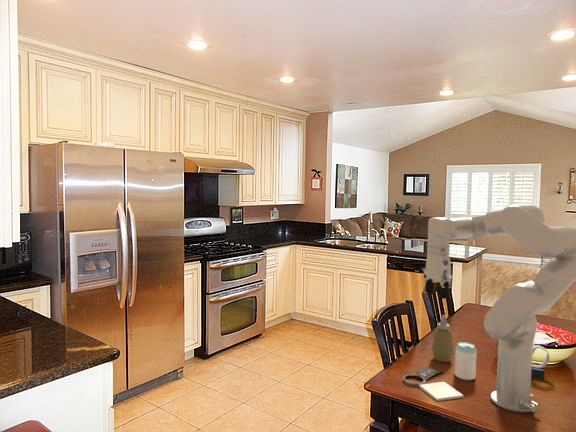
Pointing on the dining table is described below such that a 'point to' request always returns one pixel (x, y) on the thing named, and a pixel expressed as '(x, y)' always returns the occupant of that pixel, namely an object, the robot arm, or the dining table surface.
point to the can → (465, 361)
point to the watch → (536, 369)
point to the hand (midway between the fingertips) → (436, 295)
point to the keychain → (421, 376)
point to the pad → (441, 391)
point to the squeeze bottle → (442, 341)
